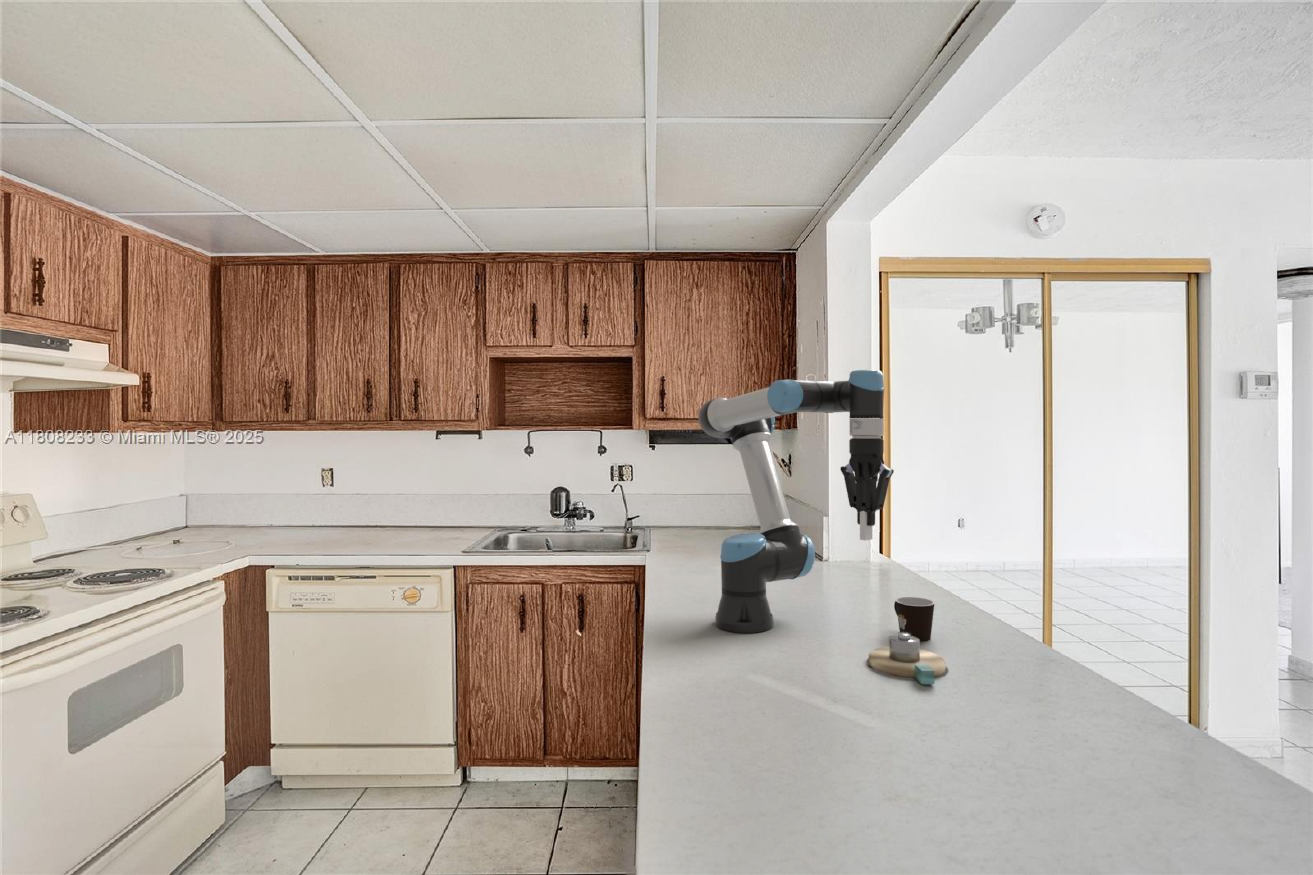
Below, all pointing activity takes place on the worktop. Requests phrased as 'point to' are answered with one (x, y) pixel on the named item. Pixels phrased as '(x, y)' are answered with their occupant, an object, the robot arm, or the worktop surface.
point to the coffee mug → (915, 616)
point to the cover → (904, 648)
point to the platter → (909, 665)
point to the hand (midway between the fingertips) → (866, 539)
